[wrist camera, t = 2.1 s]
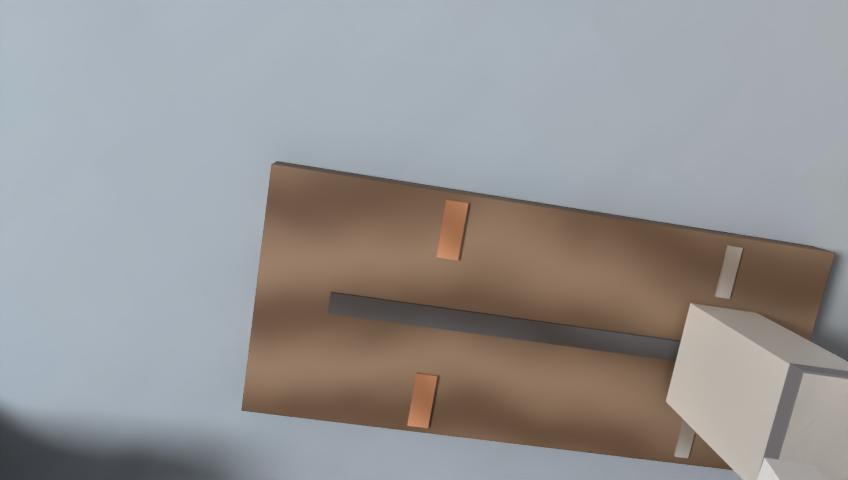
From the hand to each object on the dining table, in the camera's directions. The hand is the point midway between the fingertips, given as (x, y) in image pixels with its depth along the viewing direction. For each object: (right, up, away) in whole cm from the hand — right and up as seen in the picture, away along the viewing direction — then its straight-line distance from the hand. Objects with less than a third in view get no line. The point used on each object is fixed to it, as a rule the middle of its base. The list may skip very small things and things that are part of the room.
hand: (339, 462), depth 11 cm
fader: (+18, -3, +27) cm, 32 cm away
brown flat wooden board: (+8, -1, +28) cm, 29 cm away
